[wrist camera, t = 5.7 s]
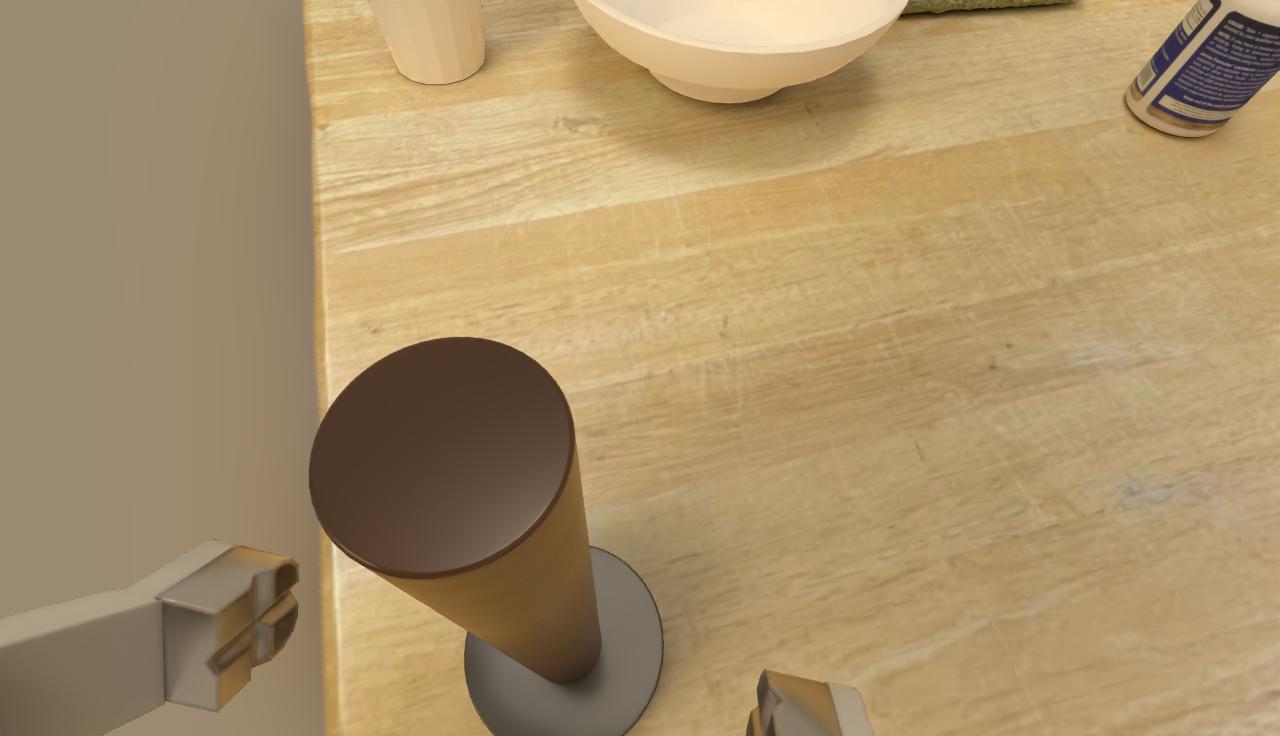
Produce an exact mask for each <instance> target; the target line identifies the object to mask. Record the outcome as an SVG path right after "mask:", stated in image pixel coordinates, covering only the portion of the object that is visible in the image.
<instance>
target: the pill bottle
mask: <svg viewBox="0 0 1280 736" xmlns="http://www.w3.org/2000/svg"><path fill="white" fill-rule="evenodd" d="M1279 70H1280V0H1198V2H1197V3H1196V4H1195V5H1194V7H1193V8H1192V9H1191V10H1190V11H1189V13H1188V14H1187V15H1186V16H1185V18H1184V19H1183V20H1182V21H1181V23H1180V24H1179V25H1178V26H1177V28H1176V29H1175V30H1174V31H1173V32H1172V34H1171V35H1170V36H1169V37H1168V39H1167V40H1166V41H1165V42H1164V44H1163V45H1162V46H1161V47H1160V49H1159V50H1158V51H1157V52H1156V54H1155V55H1154V56H1153V57H1152V58H1151V60H1150V61H1149V62H1148V63H1147V65H1146V66H1145V67H1144V68H1143V70H1142V71H1141V72H1140V73H1139V75H1138V76H1137V77H1136V78H1135V80H1134V81H1133V82H1132V84H1131V85H1130V86H1129V88H1128V90H1127V93H1126V100H1127V104H1128V106H1129V108H1130V109H1131V111H1132V112H1133V113H1134V114H1135V115H1136V116H1137V117H1138V118H1139V119H1141V120H1142V121H1143V122H1145V123H1146V124H1148V125H1150V126H1152V127H1153V128H1156V129H1158V130H1160V131H1163V132H1165V133H1169V134H1172V135H1177V136H1183V137H1200V136H1205V135H1209V134H1211V133H1214V132H1215V131H1217V130H1218V129H1220V128H1221V127H1222V126H1223V125H1224V124H1225V123H1226V122H1227V121H1228V120H1229V119H1230V118H1231V117H1232V116H1233V115H1234V114H1235V113H1236V112H1237V111H1238V110H1239V109H1240V108H1241V107H1242V106H1243V105H1245V104H1246V103H1247V102H1248V101H1249V100H1250V99H1251V98H1252V97H1253V96H1254V95H1255V94H1256V93H1257V92H1258V91H1259V90H1260V89H1261V88H1262V87H1263V86H1264V85H1265V84H1266V83H1267V82H1268V81H1269V80H1270V79H1271V78H1272V77H1273V76H1274V75H1275V74H1276V73H1277V72H1278V71H1279Z"/></svg>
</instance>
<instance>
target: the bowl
mask: <svg viewBox="0 0 1280 736" xmlns="http://www.w3.org/2000/svg"><path fill="white" fill-rule="evenodd" d="M574 1H575V3H576V5H577V7H578V9H579V10H580V12H581V14H582V15H583V16H584V18H585V19H586V20H587V21H588V23H589V24H590V25H591V26H592V28H593V29H594V30H595V31H596V32H597V33H598V34H599V35H600V36H601V37H602V38H603V40H604V41H605V42H606V43H607V44H608V45H609V46H610V47H612V48H613V49H615V50H616V51H618V52H619V53H620V54H622V55H623V56H625V57H626V58H628V59H629V60H631V61H633V62H635V63H637V64H639V65H641V66H643V67H645V68H647V69H648V70H649V71H650V73H651V74H652V75H653V76H654V77H655V78H656V79H657V80H658V81H659V82H661V83H662V84H664V85H665V86H666V87H668V88H669V89H671V90H674V91H676V92H678V93H680V94H682V95H685V96H688V97H691V98H694V99H697V100H703V101H708V102H714V103H743V102H748V101H753V100H758V99H761V98H764V97H766V96H769V95H771V94H773V93H774V92H776V91H778V90H779V89H781V88H782V87H786V86H791V85H796V84H801V83H806V82H810V81H812V80H815V79H818V78H820V77H823V76H826V75H829V74H831V73H833V72H835V71H836V70H838V69H839V68H841V67H843V66H844V65H846V64H847V63H849V62H851V61H852V60H854V59H855V58H857V57H858V56H859V55H861V54H862V53H864V52H865V51H867V50H868V49H870V48H871V47H872V46H873V45H874V44H875V43H876V42H877V41H878V39H879V38H880V37H881V36H882V35H883V34H884V33H885V32H886V31H887V30H888V29H889V27H890V26H891V25H892V24H893V23H894V22H895V21H896V20H897V19H898V17H899V16H900V14H901V13H902V11H903V10H904V8H905V6H906V5H907V2H908V0H574Z"/></svg>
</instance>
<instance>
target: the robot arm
mask: <svg viewBox="0 0 1280 736" xmlns="http://www.w3.org/2000/svg"><path fill="white" fill-rule="evenodd" d="M298 582H299V564H298V563H297V562H296V561H295V560H293V559H292V558H288V557H284V556H280V555H276V554H272V553H269V552H264V551H261V550H257V549H253V548H249V547H245V546H239V545H236V544H232V543H228V542H224V541H220V540H216V539H215V540H206V541H204V542H202V543H200V544H199V545H197V546H195V547H194V548H192V549H191V550H189V551H187V552H186V553H184V554H182V555H181V556H179V557H177V558H176V559H174V560H172V561H171V562H169V563H168V564H166V565H164V566H163V567H161V568H159V569H158V570H156V571H154V572H153V573H151V574H150V575H148V576H146V577H145V578H143V579H141V580H140V581H138V582H136V583H135V584H133V585H132V586H130V587H128V588H126V589H125V590H123V591H120V590H116V589H111V590H108V591H104V592H100V593H96V594H92V595H88V596H84V597H80V598H76V599H72V600H69V601H64V602H61V603H57V604H53V605H49V606H45V607H41V608H37V609H34V610H29V611H26V612H22V613H18V614H14V615H10V616H6V617H2V618H0V736H102V735H104V734H106V733H108V732H110V731H112V730H114V729H116V728H118V727H120V726H122V725H124V724H126V723H128V722H130V721H132V720H134V719H136V718H138V717H140V716H142V715H144V714H146V713H148V712H150V711H152V710H154V709H156V708H158V707H160V706H162V705H164V704H165V701H168V702H172V703H176V704H181V705H186V706H190V707H195V708H200V709H204V710H208V711H213V712H219V711H220V710H221V709H222V708H223V707H224V706H225V705H226V704H227V703H228V702H229V701H230V700H231V699H232V698H233V697H234V696H235V695H236V694H237V693H238V692H239V691H240V690H241V689H242V688H243V687H244V686H245V685H246V684H247V683H248V682H249V681H250V680H251V671H252V668H254V667H256V666H258V665H261V664H263V663H266V662H268V661H271V660H272V659H273V658H274V657H275V656H276V655H277V654H278V653H279V652H280V651H281V650H282V649H283V648H284V646H285V644H286V642H287V641H288V639H289V637H290V636H291V634H292V632H293V631H294V627H295V624H296V620H297V617H298V602H297V600H296V599H295V597H294V596H293V594H292V592H291V589H292V588H293V587H294V586H295V585H296V584H297V583H298ZM757 697H758V707H756V708H755V709H753V710H752V711H751V713H750V717H749V721H748V725H747V730H746V736H875V735H874V732H873V729H872V726H871V723H870V720H869V717H868V714H867V711H866V708H865V705H864V702H863V699H862V696H861V693H860V692H859V691H858V690H857V689H856V688H853V687H848V686H843V685H838V684H833V683H829V682H825V683H823V682H819V681H815V680H811V679H806V678H802V677H797V676H793V675H789V674H784V673H780V672H775V671H771V670H767V669H764V670H763V672H762V674H761V676H760V679H759V683H758V686H757Z"/></svg>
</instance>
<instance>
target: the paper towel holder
mask: <svg viewBox="0 0 1280 736" xmlns="http://www.w3.org/2000/svg"><path fill="white" fill-rule="evenodd" d="M309 489H310V495H311V500H312V504H313V507H314V510H315V513H316V516H317V518H318V520H319V522H320V524H321V526H322V527H323V529H324V531H325V533H326V534H327V535H328V537H329V538H330V539H331V540H332V541H333V543H334V544H335V545H336V546H337V547H338V548H339V549H340V550H341V551H343V552H344V553H345V554H346V555H347V556H348V557H350V558H351V559H353V560H354V561H356V562H358V563H359V564H361V565H362V566H364V567H366V568H367V569H369V570H370V571H372V572H374V573H375V574H377V575H378V576H380V577H382V578H383V579H385V580H387V581H388V582H390V583H391V584H393V585H395V586H396V587H398V588H399V589H401V590H403V591H404V592H406V593H407V594H409V595H411V596H412V597H414V598H415V599H417V600H419V601H420V602H422V603H424V604H425V605H427V606H428V607H430V608H432V609H433V610H435V611H436V612H438V613H440V614H441V615H443V616H444V617H446V618H448V619H449V620H451V621H452V622H454V623H456V624H457V625H459V626H461V627H462V628H464V629H465V630H467V631H468V632H467V636H466V642H465V652H464V669H465V676H466V683H467V686H468V690H469V694H470V697H471V700H472V702H473V704H474V707H475V709H476V711H477V713H478V714H479V716H480V718H481V719H482V721H483V723H484V724H485V725H486V726H487V728H488V729H489V730H490V731H491V732H492V734H493V735H495V736H624V735H625V734H626V733H627V732H628V731H629V730H630V729H631V728H632V727H633V726H634V725H635V724H636V722H637V721H638V720H639V719H640V717H641V716H642V715H643V713H644V711H645V710H646V708H647V706H648V705H649V703H650V701H651V699H652V697H653V694H654V692H655V690H656V687H657V684H658V681H659V677H660V674H661V668H662V663H663V651H664V641H663V629H662V624H661V618H660V615H659V612H658V609H657V606H656V603H655V601H654V599H653V596H652V594H651V593H650V591H649V589H648V588H647V586H646V584H645V583H644V582H643V580H642V579H641V578H640V576H639V575H638V574H637V573H636V572H635V571H634V570H633V569H632V568H631V567H630V566H629V565H628V564H627V563H625V562H624V561H623V560H621V559H620V558H618V557H617V556H615V555H613V554H611V553H609V552H607V551H605V550H602V549H600V548H597V547H593V546H589V539H588V531H587V523H586V516H585V508H584V500H583V492H582V485H581V477H580V469H579V461H578V453H577V446H576V438H575V430H574V422H573V418H572V414H571V410H570V407H569V404H568V402H567V400H566V398H565V395H564V393H563V392H562V390H561V388H560V387H559V385H558V384H557V382H556V381H555V380H554V378H553V377H552V376H551V375H550V374H549V373H548V371H547V370H546V369H544V368H543V367H542V366H541V365H540V364H539V363H538V362H537V361H535V360H534V359H532V358H531V357H529V356H528V355H526V354H525V353H523V352H521V351H519V350H517V349H515V348H513V347H511V346H508V345H505V344H502V343H499V342H496V341H492V340H487V339H482V338H473V337H448V338H440V339H434V340H429V341H424V342H420V343H417V344H414V345H411V346H408V347H405V348H403V349H401V350H398V351H396V352H394V353H392V354H390V355H388V356H386V357H384V358H383V359H381V360H379V361H377V362H376V363H374V364H373V365H372V366H370V367H369V368H367V369H366V370H365V371H363V372H362V373H361V374H360V375H359V376H357V377H356V378H355V379H354V380H353V381H352V382H351V383H350V384H349V385H348V386H347V387H346V388H345V389H344V390H343V391H342V392H341V393H340V395H339V396H338V397H337V399H336V400H335V401H334V403H333V404H332V405H331V407H330V408H329V410H328V412H327V413H326V415H325V417H324V419H323V420H322V422H321V424H320V427H319V429H318V432H317V434H316V437H315V440H314V443H313V447H312V451H311V457H310V465H309Z"/></svg>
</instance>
